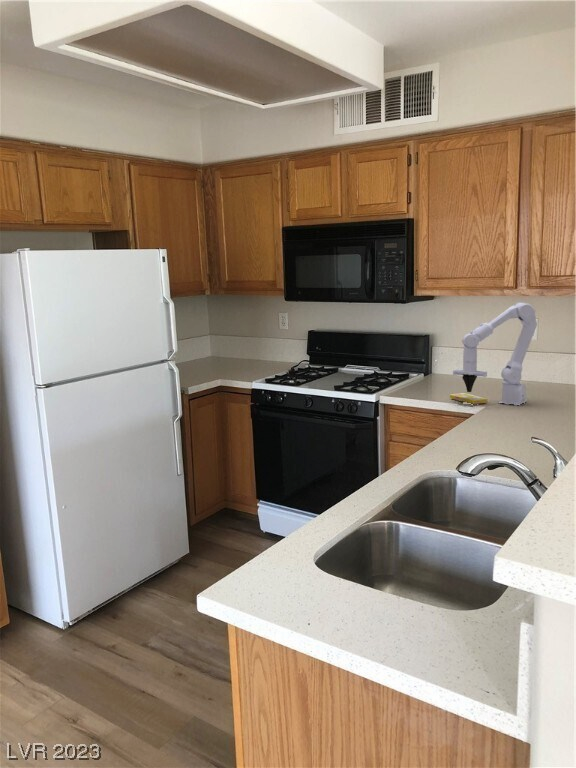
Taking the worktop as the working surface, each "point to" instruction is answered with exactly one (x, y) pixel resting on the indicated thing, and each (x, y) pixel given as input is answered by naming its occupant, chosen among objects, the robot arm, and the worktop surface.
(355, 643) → the worktop surface
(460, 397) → the candy box
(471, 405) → the mat
